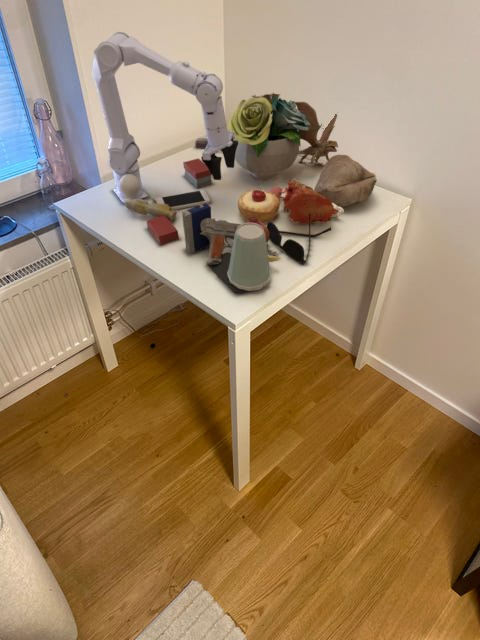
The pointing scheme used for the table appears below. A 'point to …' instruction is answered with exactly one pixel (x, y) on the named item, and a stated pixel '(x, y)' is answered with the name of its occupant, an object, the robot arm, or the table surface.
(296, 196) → the seashell
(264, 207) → the pastry
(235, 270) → the disposable coffee cup
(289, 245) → the sunglasses
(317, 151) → the dragon
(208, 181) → the grey stack
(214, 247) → the pistol
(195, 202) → the smartphone
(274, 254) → the toy
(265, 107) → the flower arrangement
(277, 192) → the figurine
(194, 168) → the oxblood book
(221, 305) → the table surface
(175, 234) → the oxblood stack
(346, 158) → the seashell
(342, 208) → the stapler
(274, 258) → the fox
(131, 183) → the light bulb
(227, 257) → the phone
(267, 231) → the fruit
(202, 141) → the handgun
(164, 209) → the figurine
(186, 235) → the cassette player
